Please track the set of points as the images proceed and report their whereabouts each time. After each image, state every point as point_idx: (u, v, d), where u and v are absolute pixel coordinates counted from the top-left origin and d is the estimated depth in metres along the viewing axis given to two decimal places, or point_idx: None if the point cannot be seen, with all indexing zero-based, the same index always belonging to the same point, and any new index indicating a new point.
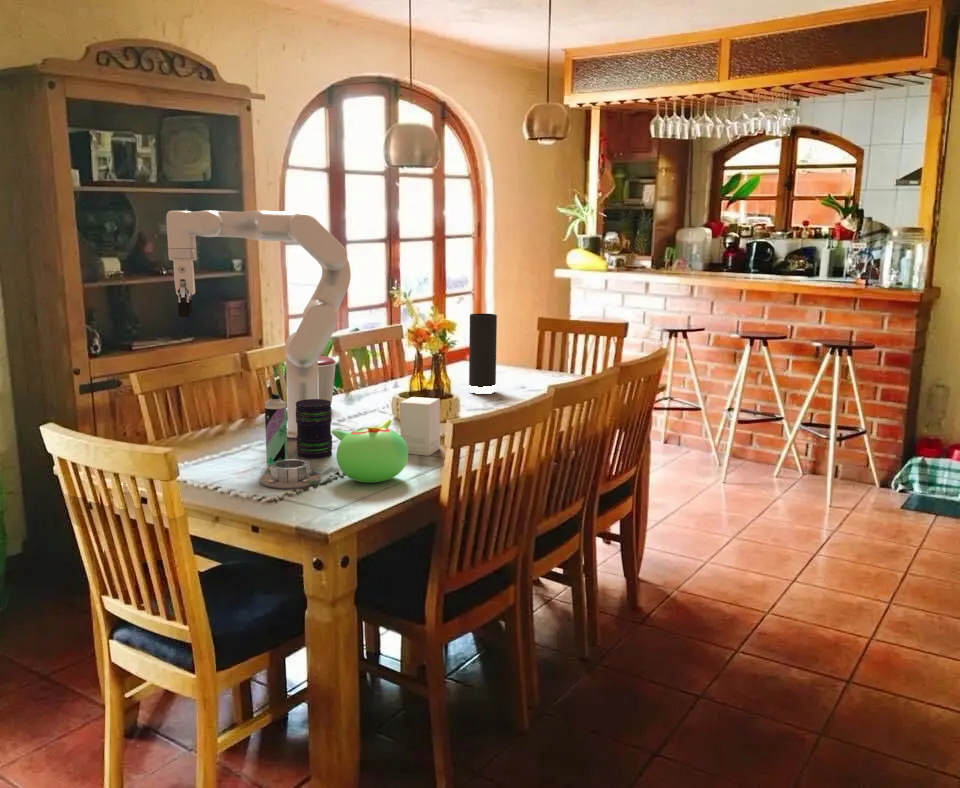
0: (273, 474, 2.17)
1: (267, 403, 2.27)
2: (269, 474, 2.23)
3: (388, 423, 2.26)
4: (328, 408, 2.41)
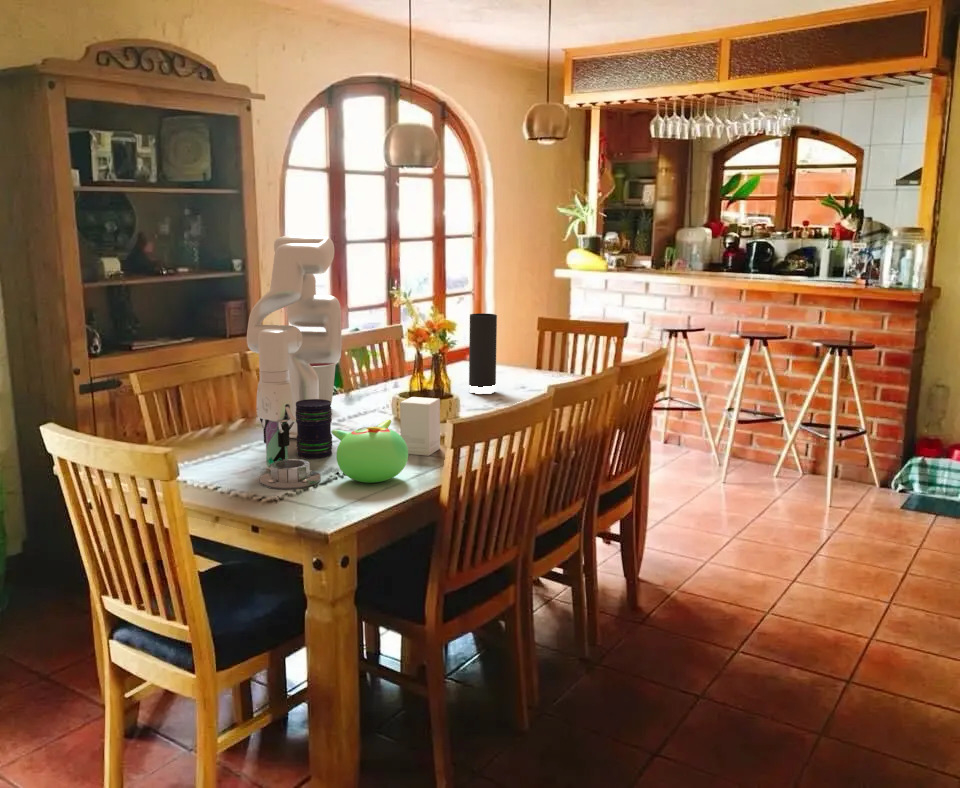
0: (273, 474, 2.17)
1: None
2: (269, 474, 2.23)
3: (388, 423, 2.26)
4: (328, 408, 2.41)
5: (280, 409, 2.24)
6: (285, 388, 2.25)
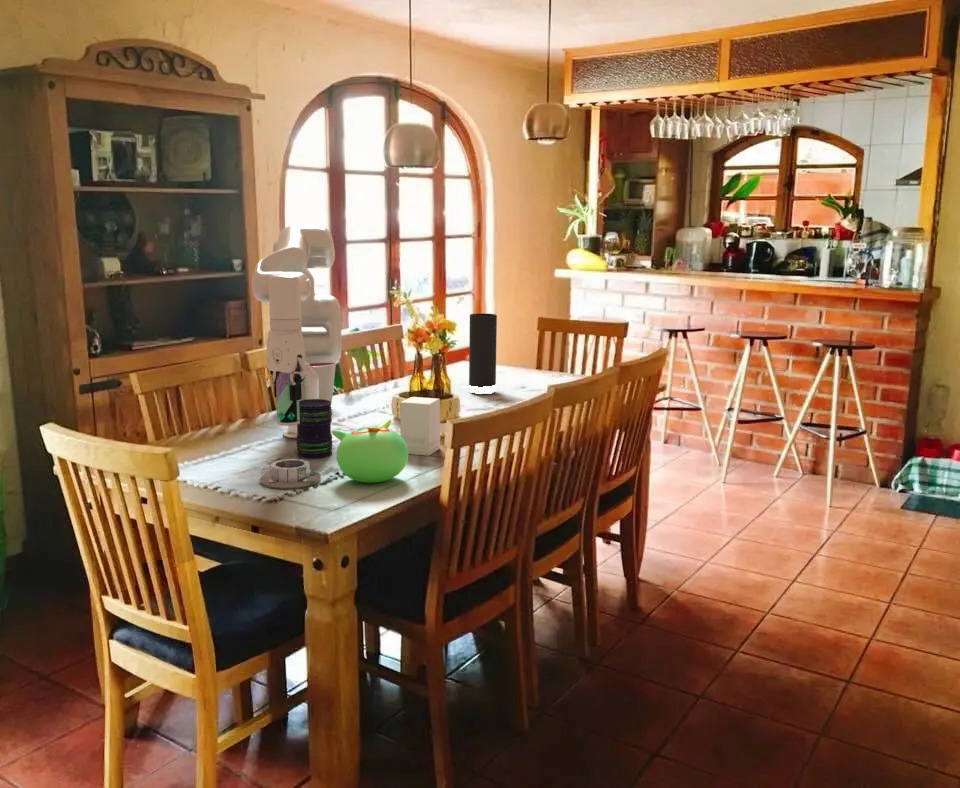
0: (273, 474, 2.17)
1: None
2: (269, 474, 2.23)
3: (388, 423, 2.26)
4: (328, 408, 2.41)
5: (292, 359, 2.10)
6: (297, 337, 2.11)
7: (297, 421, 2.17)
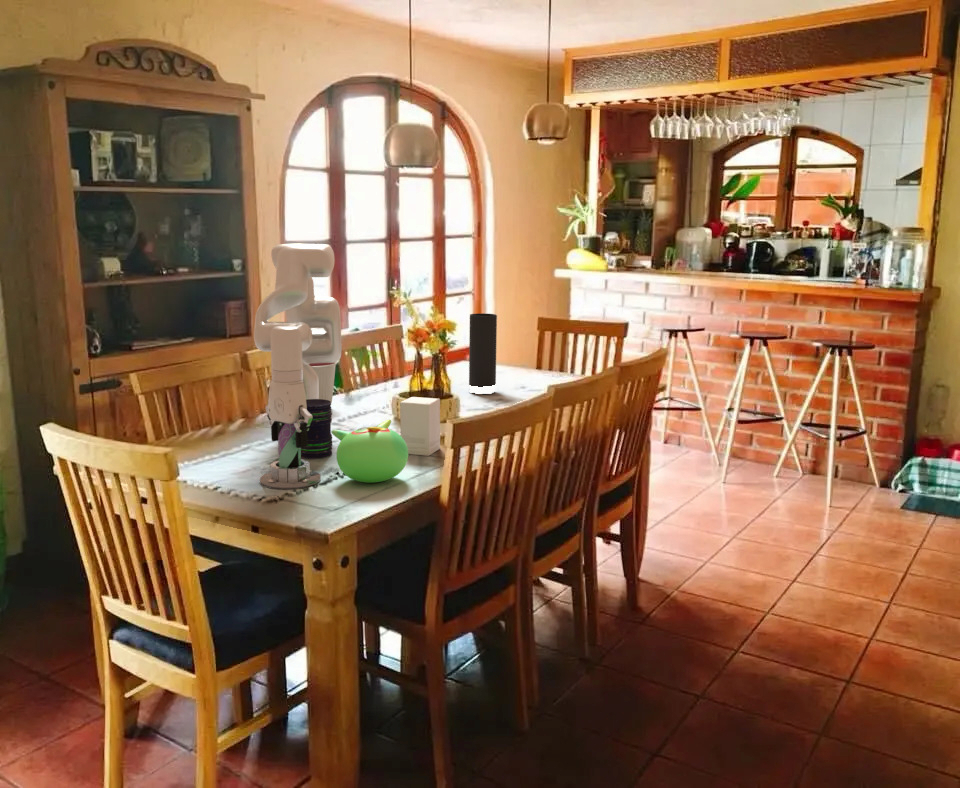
0: (273, 474, 2.17)
1: None
2: (269, 474, 2.23)
3: (388, 423, 2.26)
4: (328, 408, 2.41)
5: (294, 410, 2.12)
6: (299, 388, 2.13)
7: None
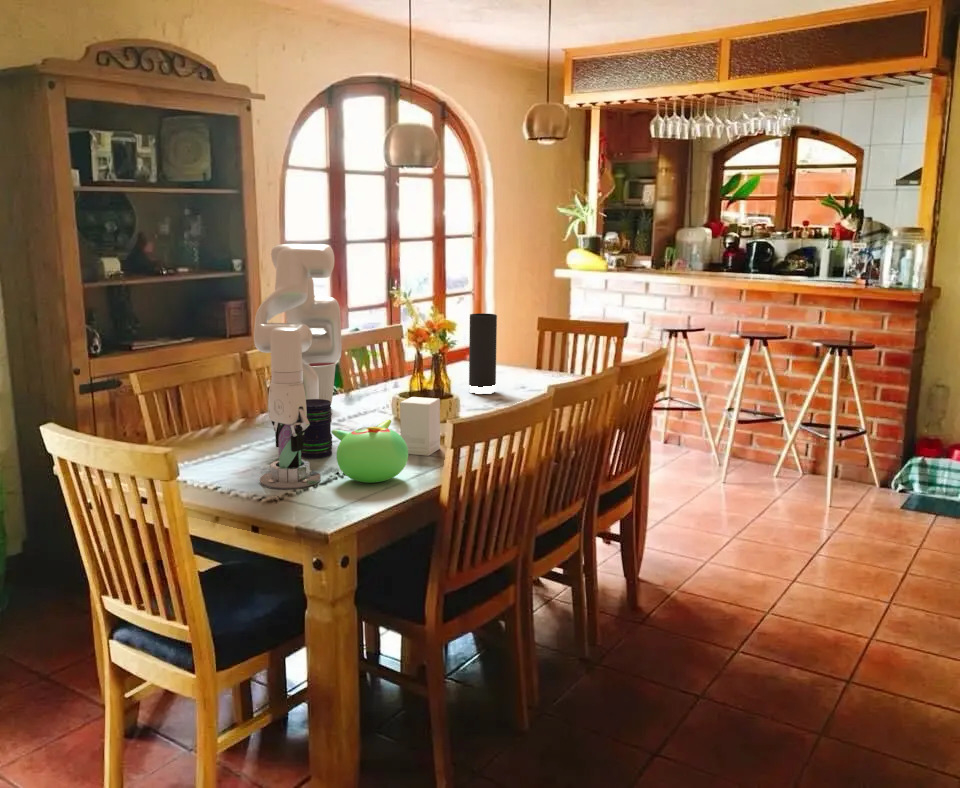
0: (273, 474, 2.17)
1: None
2: (269, 474, 2.23)
3: (388, 423, 2.26)
4: (328, 408, 2.41)
5: (293, 411, 2.12)
6: (299, 389, 2.13)
7: None
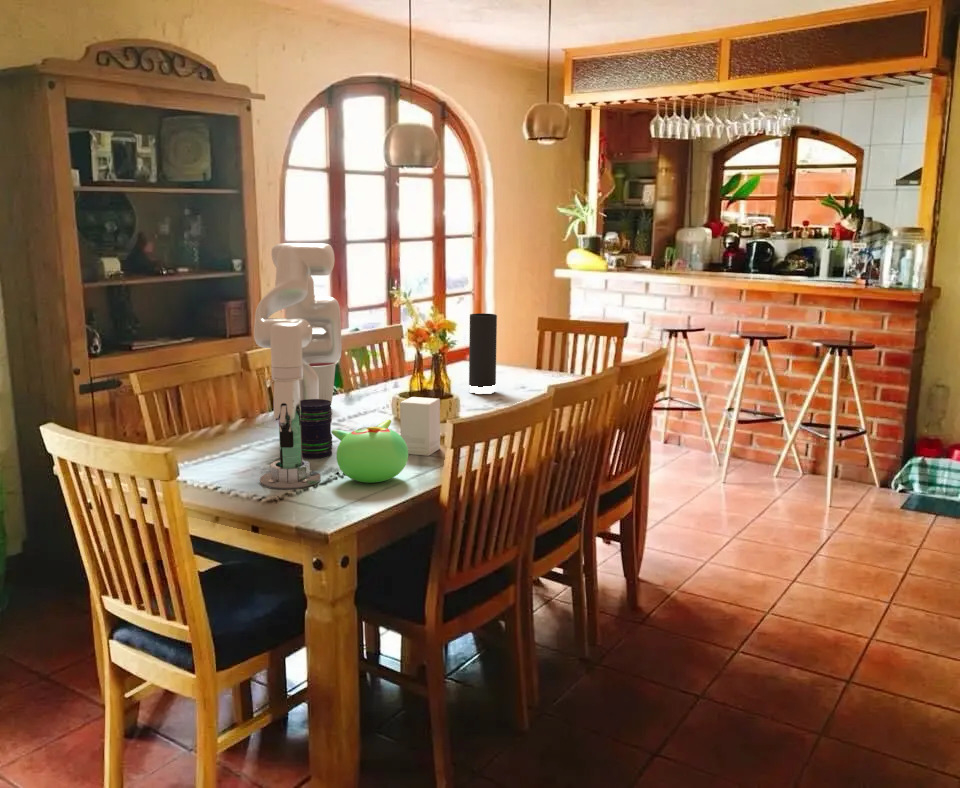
0: (273, 474, 2.17)
1: None
2: (269, 474, 2.23)
3: (388, 423, 2.26)
4: (328, 408, 2.41)
5: (275, 407, 2.12)
6: (283, 386, 2.11)
7: None
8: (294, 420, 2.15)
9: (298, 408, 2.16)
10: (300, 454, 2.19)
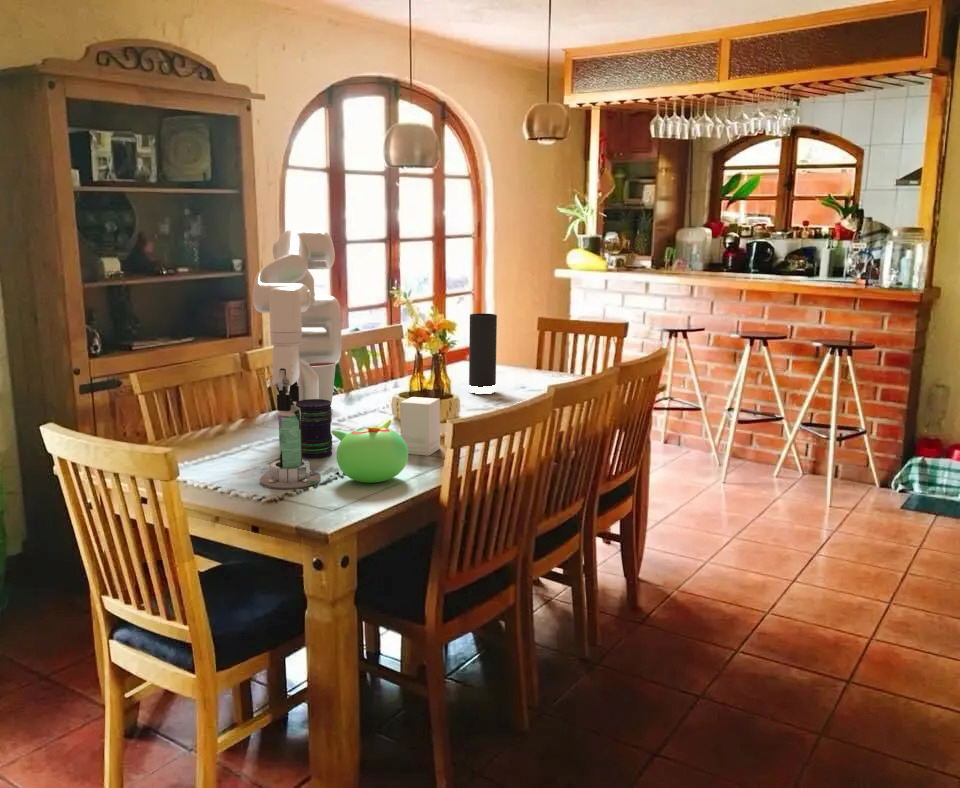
0: (273, 474, 2.17)
1: None
2: (269, 474, 2.23)
3: (388, 423, 2.26)
4: (328, 408, 2.41)
5: (274, 372, 2.10)
6: (282, 351, 2.10)
7: None
8: (294, 424, 2.16)
9: (298, 412, 2.16)
10: (300, 458, 2.19)
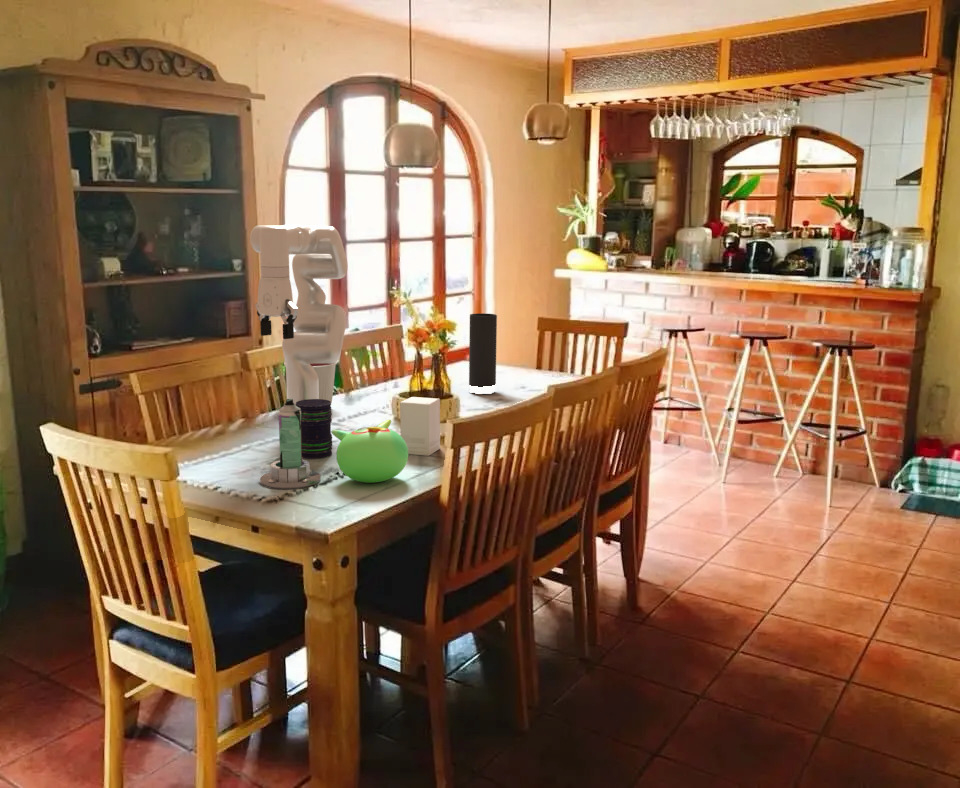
0: (273, 474, 2.17)
1: None
2: (269, 474, 2.23)
3: (388, 423, 2.26)
4: (328, 408, 2.41)
5: (281, 303, 2.31)
6: (285, 283, 2.31)
7: None
8: (294, 424, 2.16)
9: (298, 412, 2.16)
10: (300, 458, 2.19)
